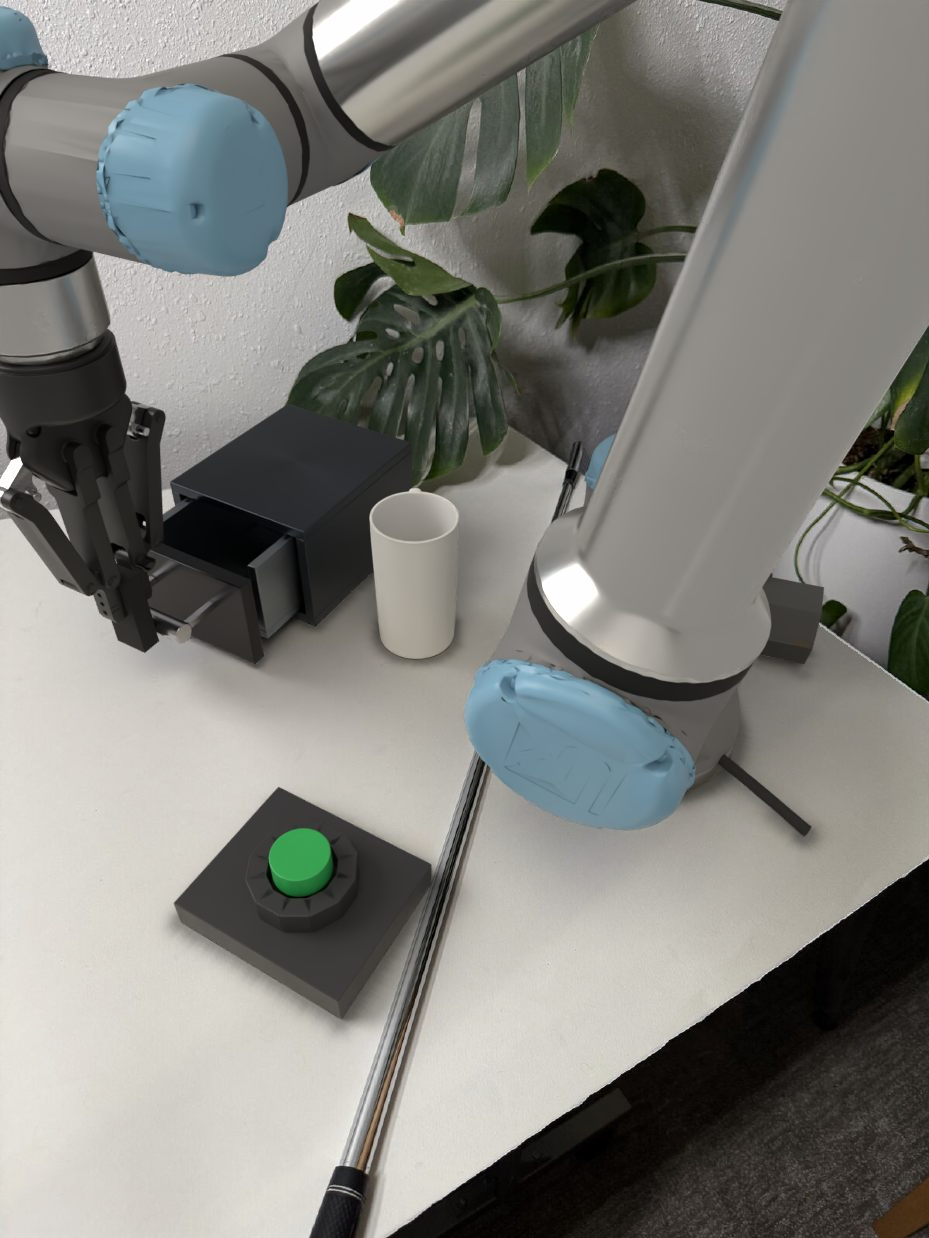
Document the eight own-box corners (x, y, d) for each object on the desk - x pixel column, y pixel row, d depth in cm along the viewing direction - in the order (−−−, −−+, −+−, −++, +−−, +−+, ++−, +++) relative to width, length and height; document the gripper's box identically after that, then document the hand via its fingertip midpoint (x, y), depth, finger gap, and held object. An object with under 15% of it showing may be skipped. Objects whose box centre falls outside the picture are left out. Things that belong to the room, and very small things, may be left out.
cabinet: (315, 626, 74) (303, 532, 68) (191, 574, 79) (168, 481, 73) (413, 531, 85) (411, 442, 78) (298, 491, 90) (287, 403, 83)
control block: (431, 883, 56) (431, 847, 54) (341, 1019, 50) (335, 986, 47) (282, 806, 61) (275, 769, 58) (180, 922, 54) (166, 886, 51)
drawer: (217, 700, 66) (198, 622, 61) (97, 643, 71) (70, 565, 66) (360, 566, 79) (354, 492, 74) (250, 525, 83) (237, 452, 78)
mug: (458, 662, 71) (460, 543, 63) (375, 662, 71) (367, 543, 63) (455, 583, 79) (457, 468, 71) (380, 584, 79) (373, 468, 71)
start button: (344, 860, 53) (342, 843, 52) (308, 907, 51) (305, 890, 50) (297, 835, 55) (294, 818, 53) (259, 879, 52) (255, 863, 51)
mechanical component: (590, 637, 78) (615, 543, 82) (794, 681, 74) (810, 580, 78) (590, 581, 69) (619, 479, 73) (823, 628, 65) (839, 518, 69)
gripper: (84, 287, 56) (162, 577, 71) (-104, 365, 47) (32, 676, 63) (174, 311, 53) (235, 607, 69) (-7, 399, 44) (110, 715, 60)
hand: (138, 640), depth 66 cm, fingers closed
